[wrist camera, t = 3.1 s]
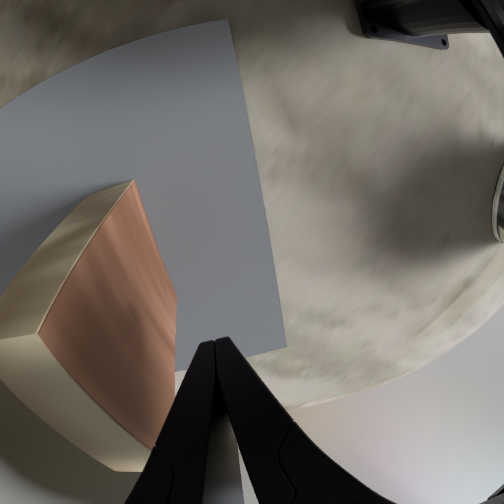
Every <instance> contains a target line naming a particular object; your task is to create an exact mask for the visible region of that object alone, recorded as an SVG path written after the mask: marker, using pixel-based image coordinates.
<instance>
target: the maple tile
mask: <svg viewBox="0 0 504 504" xmlns="http://www.w3.org/2000/svg"><path fill="white" fill-rule="evenodd" d="M176 309H177V295H176V292H175V290H174V288H173V285H172V283H171V280H170V278H169V275H168V273H167V270H166V267H165V265H164V262H163V260H162V257H161V254H160V252H159V249H158V246H157V244H156V241H155V238H154V235H153V233H152V230H151V227H150V224H149V221H148V218H147V215H146V212H145V210H144V207H143V204H142V200H141V197H140V194H139V191H138V188H137V185H136V182H135V180H134V179H133V180H130V181H127V182H124V183H121V184H118V185H115V186H112V187H109V188H106V189H103V190H101V191H98V192H95V193H92V194H89V195H88V196H87V197H86V198H85V199H84V200H83V201H82V202H81V203H80V204H79V205H78V206H77V207H76V208H75V209H74V210H73V211H72V212H71V213H70V214H69V215H68V216H67V217H66V218H65V219H64V220H63V221H62V222H61V223H60V224H59V225H58V226H57V228H56V229H55V230H54V231H53V232H52V233H51V234H50V235H49V236H48V237H47V239H46V240H45V241H44V242H43V243H42V244H41V245H40V247H39V248H38V249H37V250H36V251H35V252H34V254H33V255H32V256H31V257H30V258H29V260H28V261H27V262H26V263H25V265H24V266H23V267H22V268H21V270H20V271H19V272H18V273H17V275H16V276H15V277H14V279H13V280H12V281H11V283H10V284H9V285H8V287H7V288H6V289H5V291H4V292H3V294H2V295H1V296H0V379H1V380H2V381H3V382H4V384H5V385H6V386H7V387H8V388H9V389H10V390H11V391H12V392H13V393H14V394H15V395H16V396H17V397H18V398H19V399H20V400H21V401H22V402H24V403H25V404H26V405H27V406H28V407H29V408H30V409H31V410H32V411H33V412H34V413H35V414H37V415H38V416H39V417H40V418H41V419H43V420H44V421H45V422H46V423H47V424H48V425H50V426H51V427H52V428H53V429H55V430H56V431H57V432H58V433H60V434H61V435H62V436H64V437H65V438H66V439H68V440H69V441H70V442H72V443H73V444H74V445H76V446H77V447H79V448H80V449H82V450H83V451H84V452H86V453H88V454H89V455H90V456H92V457H94V458H95V459H97V460H98V461H100V462H101V463H103V464H105V465H106V466H108V467H109V468H111V469H113V470H115V471H129V472H130V471H131V472H142V471H143V469H144V467H145V464H146V462H147V460H148V458H149V456H150V454H151V451H152V449H153V447H154V446H156V445H155V442H156V440H157V438H158V435H159V433H160V431H161V429H162V426H163V424H164V422H165V420H166V417H167V415H168V413H169V410H170V408H171V406H172V404H173V401H174V399H175V334H176Z"/></svg>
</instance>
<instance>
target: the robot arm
mask: <svg viewBox="0 0 504 504" xmlns="http://www.w3.org/2000/svg"><path fill="white" fill-rule="evenodd" d="M354 1H355V2H356V6H357V10H358V14H359V18H360V23H361V27H362V31H363V33H364V34H365V35H366V36H367V37H369V38H373V39H382V40H391V41H398V42H404V43H410V44H416V45H421V46H427V47H431V48H436V49H440V50H444V49H448V47H449V43H448V37H447V34H458V33H490V34H491V36H492V37H493V39H494V41H495V43H496V45H497V46H498V48H499V50H500V52H501V54H502V56H503V58H504V0H354ZM370 26H371V27H372V28H373V30H374V33H373V32H372V31H371V30H370ZM441 42H442V43H441ZM237 443H238V445H237ZM155 445H156V446H154V447H153V449H152V451H151V454H150V456H149V458H148V460H147V462H146V464H145V467H144V469H143V471H142V473H141V475H140V477H139V479H138V480H137V482H136V484H135V486H134V487H133V489H132V491H131V492H130V494H129V496H128V498H127V499H126V501H125V503H124V504H244V499H243V490H242V481H241V473H240V464H239V455H238V446H239V449H240V452H241V455H242V458H243V461H244V464H245V467H246V470H247V472H248V475H249V478H250V481H251V483H252V486H253V489H254V492H255V494H256V497H257V499H258V502H259V504H396V503H394V502H392V501H390V500H388V499H386V498H384V497H382V496H381V495H379V494H377V493H376V492H374V491H373V490H371V489H370V488H368V487H367V486H366V485H364V484H363V483H362V482H360V481H358V479H356V478H355V477H353V476H352V475H351V474H349V473H348V472H347V471H346V470H344V469H343V468H342V467H341V466H339V465H338V464H337V463H336V462H334V461H333V460H332V459H331V458H330V457H329V456H327V455H326V454H325V453H324V452H323V451H322V450H321V449H320V448H319V447H318V446H317V445H316V444H315V443H314V442H313V441H312V440H311V439H310V438H309V437H308V436H307V435H306V434H305V433H304V432H303V430H302V429H301V428H300V427H299V426H298V425H297V423H296V422H294V420H293V419H292V418H291V416H290V415H289V414H288V412H287V411H286V410H285V409H284V407H283V406H282V405H281V404H280V403H279V401H278V400H277V399H276V398H275V396H274V395H273V394H272V392H271V391H270V390H269V389H268V387H267V386H266V385H265V384H264V382H263V381H262V380H261V378H260V377H259V376H258V374H257V373H256V372H255V370H254V369H253V368H252V367H251V365H250V364H249V363H248V361H247V360H246V359H245V357H244V356H243V354H242V353H241V352H240V350H239V349H238V348H237V346H236V345H235V344H234V342H233V341H232V339H231V338H230V337H229V336H226V337H222V338H217V339H216V340H215V341H214V340H209V341H204V342H201V343H200V344H199V345H198V347H197V350H196V352H195V354H194V356H193V359H192V361H191V363H190V365H189V368H188V370H187V372H186V374H185V377H184V379H183V381H182V383H181V386H180V388H179V390H178V392H177V395H176V397H175V399H174V401H173V404H172V406H171V408H170V410H169V413H168V415H167V417H166V420H165V422H164V424H163V426H162V429H161V431H160V433H159V435H158V438H157V440H156V442H155ZM480 504H504V485H502V486H501V487H500V488H499V489H498V490H497V491H496V492H495V493H493V494H492V495H491V496H490V497H489V498H488V499H487V501H485V502H483V503H480Z"/></svg>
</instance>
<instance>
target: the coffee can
mask: <svg viewBox="0 0 504 504" xmlns="http://www.w3.org/2000/svg"><path fill="white" fill-rule="evenodd" d="M492 229H493V233H494V236H495V237H496V239H497V240H498V241H500V242H502V243H504V165H503V167H502V170H501V172H500V175H499V178H498V182H497V185H496V189H495V194H494V198H493V204H492Z"/></svg>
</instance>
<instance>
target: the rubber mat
mask: <svg viewBox="0 0 504 504" xmlns="http://www.w3.org/2000/svg"><path fill="white" fill-rule="evenodd" d="M133 179H134V180H135V182H136V185H137V188H138V191H139V194H140V197H141V200H142V204H143V207H144V210H145V212H146V215H147V218H148V221H149V224H150V227H151V230H152V233H153V235H154V238H155V241H156V244H157V246H158V249H159V252H160V254H161V257H162V260H163V262H164V265H165V267H166V270H167V273H168V275H169V278H170V280H171V283H172V285H173V288H174V290H175V292H176V295H177V309H176V334H175V372H176V371H182V370H188V368H189V365H190V363H191V361H192V359H193V356H194V354H195V352H196V350H197V347H198V345H199V344H200V343H201V342H204V341H209V340H214V341H215V340H216V339H217V338H222V337H226V336H229V337H230V338H231V339H232V341H233V342H234V344H235V345H236V346H237V348H238V349H239V350H240V352H241V353H242V354H243V356H244V357H249V356H253V355H257V354H261V353H265V352H269V351H272V350H276V349H280V348H283V347H287V344H286V338H285V331H284V324H283V318H282V311H281V305H280V298H279V292H278V286H277V279H276V273H275V267H274V261H273V255H272V249H271V243H270V237H269V231H268V225H267V219H266V213H265V207H264V202H263V196H262V190H261V185H260V179H259V173H258V168H257V162H256V157H255V151H254V146H253V141H252V135H251V130H250V125H249V119H248V114H247V109H246V104H245V99H244V93H243V88H242V83H241V78H240V73H239V68H238V63H237V59H236V54H235V49H234V44H233V39H232V34H231V30H230V25H229V20H228V19H222V20H216V21H210V22H205V23H199V24H194V25H190V26H185V27H181V28H177V29H173V30H169V31H165V32H161V33H158V34H154V35H151V36H147V37H144V38H141V39H138V40H135V41H132V42H129V43H126V44H123V45H120V46H118V47H115V48H112V49H110V50H107V51H105V52H102V53H100V54H97V55H95V56H93V57H90V58H88V59H86V60H84V61H82V62H79V63H77V64H75V65H73V66H71V67H69V68H67V69H65V70H63V71H61V72H59V73H57V74H55V75H53V76H52V77H50V78H48V79H46V80H44V81H43V82H41V83H39V84H37V85H36V86H34V87H32V88H31V89H29V90H27V91H26V92H24V93H23V94H21V95H19V96H18V97H16V98H15V99H13V100H12V101H10V102H9V103H7V104H6V105H5V106H3V107H2V108H0V296H1V295H2V294H3V292H4V291H5V289H6V288H7V287H8V285H9V284H10V283H11V281H12V280H13V279H14V277H15V276H16V275H17V273H18V272H19V271H20V270H21V268H22V267H23V266H24V265H25V263H26V262H27V261H28V260H29V258H30V257H31V256H32V255H33V254H34V252H35V251H36V250H37V249H38V248H39V247H40V245H41V244H42V243H43V242H44V241H45V240H46V239H47V237H48V236H49V235H50V234H51V233H52V232H53V231H54V230H55V229H56V228H57V226H58V225H59V224H60V223H61V222H62V221H63V220H64V219H65V218H66V217H67V216H68V215H69V214H70V213H71V212H72V211H73V210H74V209H75V208H76V207H77V206H78V205H79V204H80V203H81V202H82V201H83V200H84V199H85V198H86V197H87V196H88V195H89V194H92V193H95V192H98V191H101V190H103V189H106V188H109V187H112V186H115V185H118V184H121V183H124V182H127V181H130V180H133Z"/></svg>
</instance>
